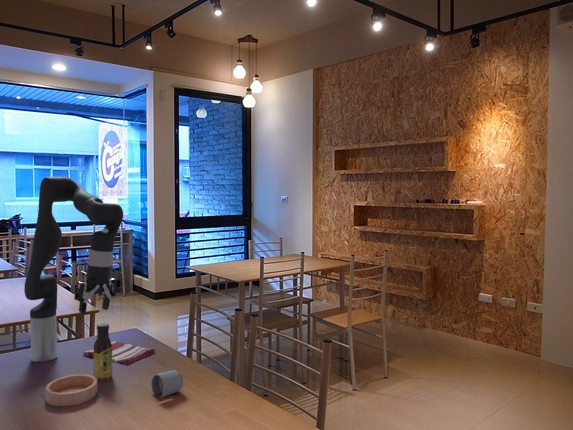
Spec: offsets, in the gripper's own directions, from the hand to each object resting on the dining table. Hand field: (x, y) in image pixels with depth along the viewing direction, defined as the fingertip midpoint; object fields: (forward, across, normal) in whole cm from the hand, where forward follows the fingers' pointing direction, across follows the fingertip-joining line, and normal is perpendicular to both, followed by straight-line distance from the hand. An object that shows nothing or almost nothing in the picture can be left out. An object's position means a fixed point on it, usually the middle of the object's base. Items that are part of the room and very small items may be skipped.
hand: (93, 311), depth 157 cm
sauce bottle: (+28, -10, -2) cm, 29 cm away
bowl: (+27, +5, +1) cm, 28 cm away
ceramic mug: (+24, -14, +23) cm, 36 cm away
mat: (+28, +5, +1) cm, 28 cm away
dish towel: (+28, -30, -18) cm, 45 cm away
